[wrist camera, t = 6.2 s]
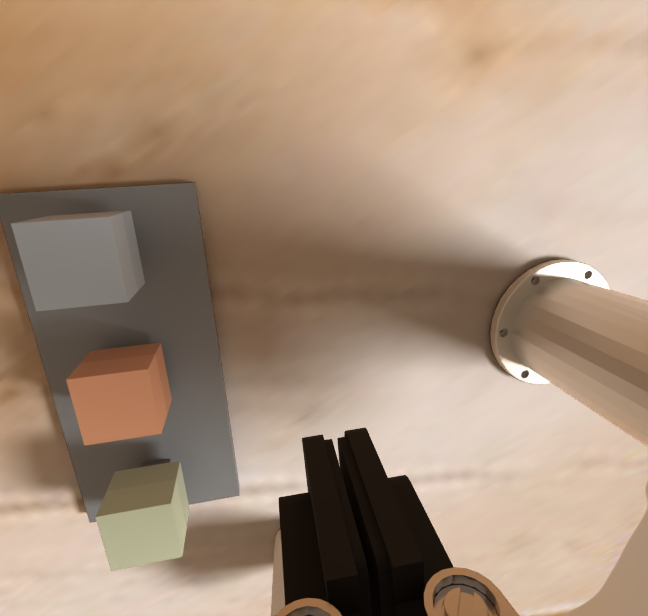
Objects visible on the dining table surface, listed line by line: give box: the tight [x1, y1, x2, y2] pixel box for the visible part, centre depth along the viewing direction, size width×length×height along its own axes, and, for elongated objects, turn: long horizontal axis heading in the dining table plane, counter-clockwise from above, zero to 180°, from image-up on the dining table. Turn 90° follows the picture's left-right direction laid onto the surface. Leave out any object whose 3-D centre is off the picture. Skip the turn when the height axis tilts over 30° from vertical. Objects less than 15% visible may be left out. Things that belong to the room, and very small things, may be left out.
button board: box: [0, 182, 239, 523], centre depth 33 cm, size 13×28×3 cm, turn 4°
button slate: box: [11, 210, 145, 311], centre depth 26 cm, size 5×5×5 cm
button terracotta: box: [66, 342, 172, 446], centre depth 30 cm, size 5×5×5 cm
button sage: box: [96, 461, 190, 571], centre depth 32 cm, size 5×5×5 cm
